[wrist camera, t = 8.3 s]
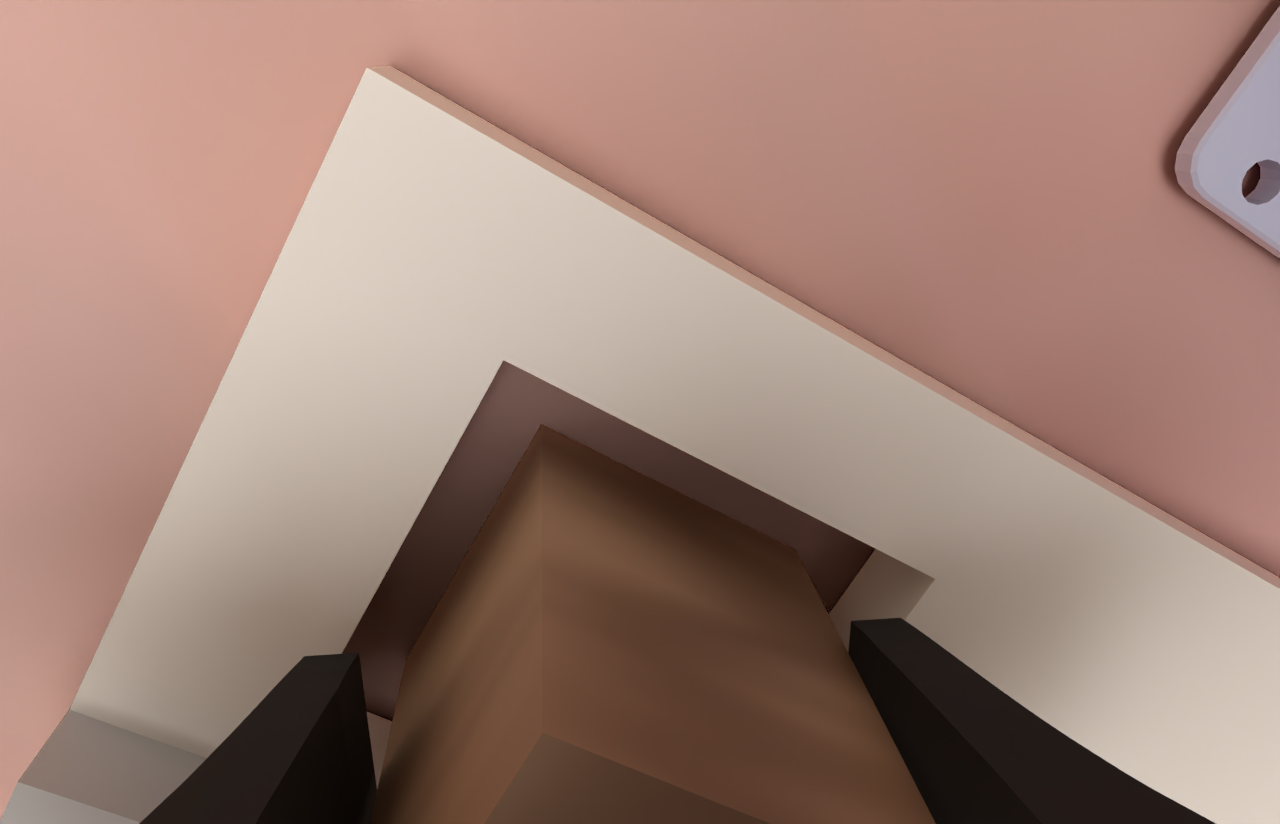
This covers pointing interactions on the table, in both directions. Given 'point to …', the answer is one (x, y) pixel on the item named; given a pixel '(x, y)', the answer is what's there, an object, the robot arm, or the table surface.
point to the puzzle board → (665, 408)
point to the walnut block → (632, 671)
